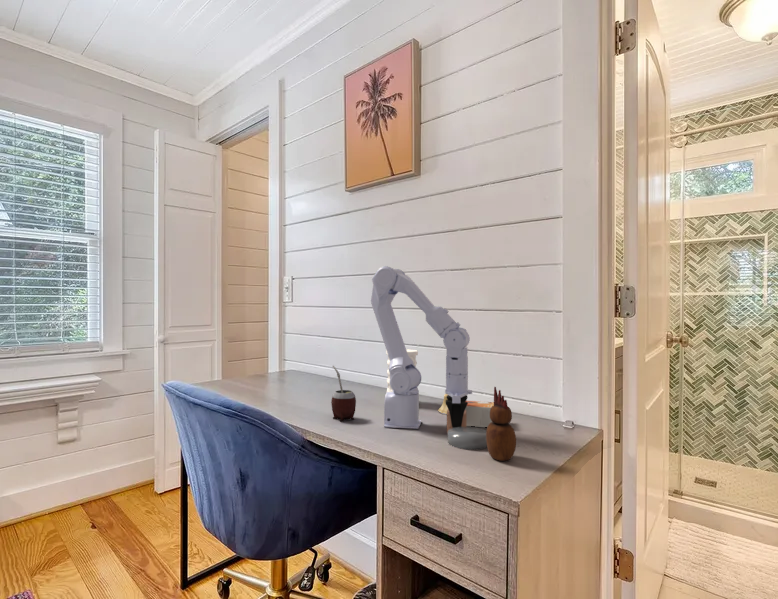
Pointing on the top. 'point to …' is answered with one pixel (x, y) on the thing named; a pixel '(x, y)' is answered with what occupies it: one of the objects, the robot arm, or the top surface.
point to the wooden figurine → (500, 430)
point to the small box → (478, 413)
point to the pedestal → (467, 437)
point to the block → (450, 420)
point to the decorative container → (410, 353)
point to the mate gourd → (343, 403)
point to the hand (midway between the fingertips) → (456, 425)
